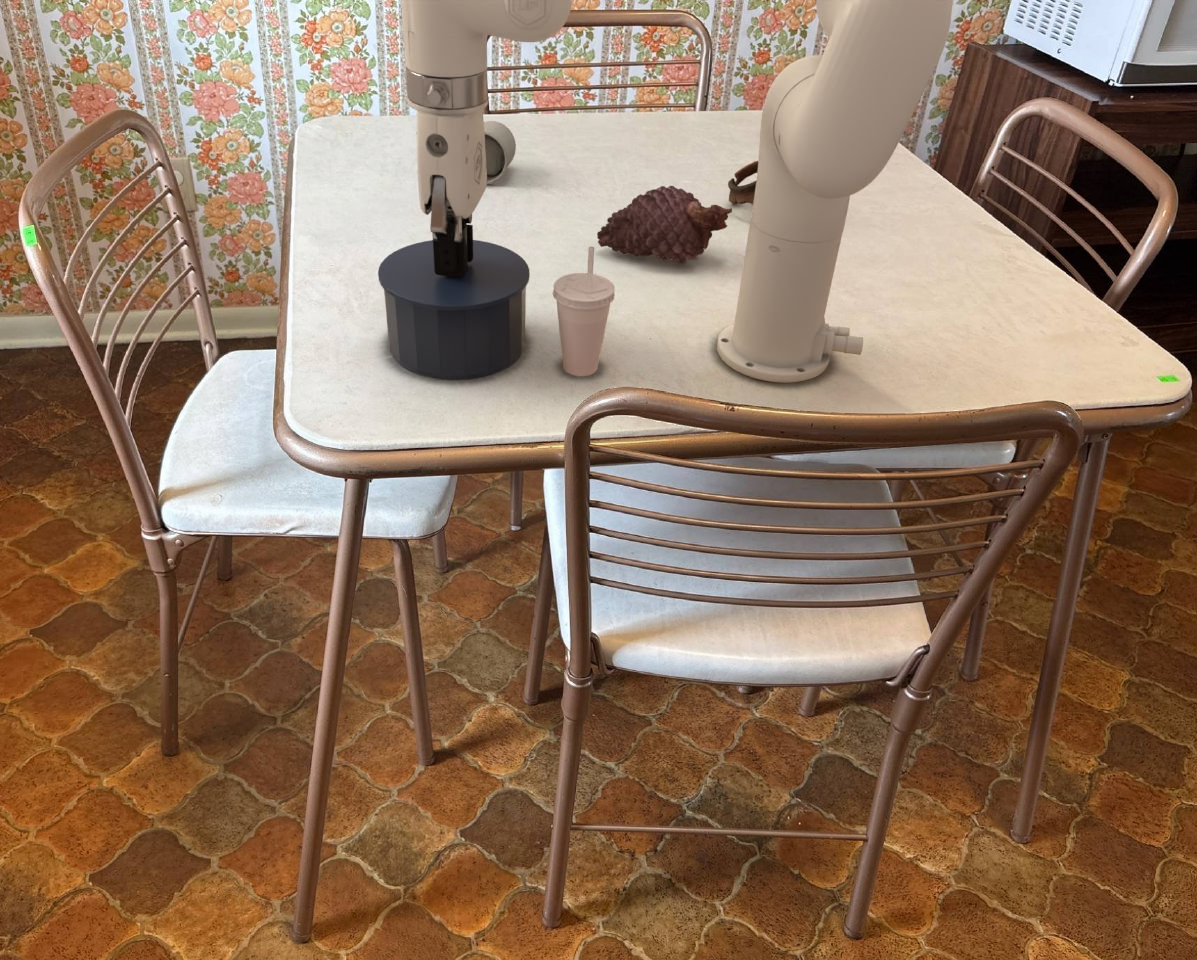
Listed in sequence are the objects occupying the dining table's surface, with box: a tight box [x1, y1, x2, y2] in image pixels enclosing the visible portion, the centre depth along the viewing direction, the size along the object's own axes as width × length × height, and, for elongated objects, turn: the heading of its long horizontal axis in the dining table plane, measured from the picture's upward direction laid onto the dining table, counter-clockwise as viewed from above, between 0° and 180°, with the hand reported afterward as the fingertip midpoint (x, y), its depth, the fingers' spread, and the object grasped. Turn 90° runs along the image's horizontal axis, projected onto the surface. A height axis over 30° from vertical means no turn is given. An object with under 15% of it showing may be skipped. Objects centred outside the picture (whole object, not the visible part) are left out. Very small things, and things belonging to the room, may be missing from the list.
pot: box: [383, 286, 527, 381], centre depth 107 cm, size 15×15×8 cm
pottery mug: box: [727, 160, 758, 206], centre depth 143 cm, size 12×10×8 cm
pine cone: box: [596, 185, 733, 264], centre depth 128 cm, size 18×10×10 cm
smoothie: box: [552, 246, 616, 377], centre depth 103 cm, size 6×6×14 cm
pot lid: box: [377, 220, 530, 310], centre depth 103 cm, size 16×16×6 cm
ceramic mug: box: [484, 120, 517, 185], centre depth 147 cm, size 11×8×8 cm
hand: (454, 265), depth 104 cm, fingers closed on pot lid, 2 cm apart
